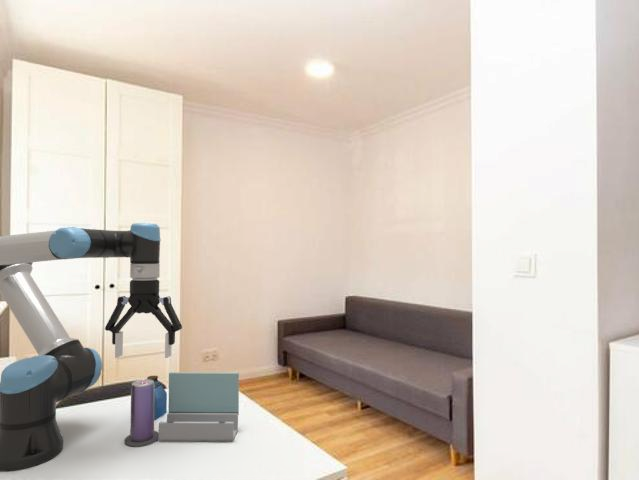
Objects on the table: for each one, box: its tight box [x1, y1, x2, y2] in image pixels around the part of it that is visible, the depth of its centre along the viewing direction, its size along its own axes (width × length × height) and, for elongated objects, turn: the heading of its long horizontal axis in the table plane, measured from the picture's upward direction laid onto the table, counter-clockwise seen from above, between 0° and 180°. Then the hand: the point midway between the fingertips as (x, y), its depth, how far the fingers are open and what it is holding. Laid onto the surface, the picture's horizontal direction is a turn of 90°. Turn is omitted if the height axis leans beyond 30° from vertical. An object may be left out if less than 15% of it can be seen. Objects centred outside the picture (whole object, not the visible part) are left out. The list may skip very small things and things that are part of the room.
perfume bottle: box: [146, 375, 168, 421], centre depth 127 cm, size 6×6×12 cm
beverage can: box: [129, 378, 155, 442], centre depth 111 cm, size 6×6×15 cm
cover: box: [168, 371, 240, 416], centre depth 117 cm, size 20×12×1 cm
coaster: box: [123, 430, 159, 448], centre depth 111 cm, size 9×9×1 cm
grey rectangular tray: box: [158, 412, 239, 443], centre depth 113 cm, size 20×7×5 cm, turn 90°
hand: (143, 356), depth 112 cm, fingers open, 13 cm apart
